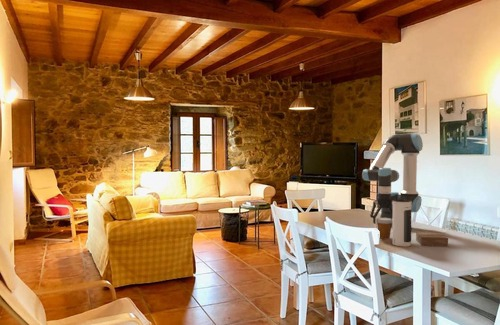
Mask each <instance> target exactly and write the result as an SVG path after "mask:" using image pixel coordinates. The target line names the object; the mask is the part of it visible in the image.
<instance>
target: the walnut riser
mask: <svg viewBox="0 0 500 325" xmlns="http://www.w3.org/2000/svg"><path fill="white" fill-rule="evenodd" d="M415 240H416V242H417V243H418V244H420V246H421V247H440V248H448V247H449V237H447V236H446V235H445V234H443V233H442V232H429V231H428V232H426V231H425V232H424V231H423V232H422V231H416V232H415Z"/></svg>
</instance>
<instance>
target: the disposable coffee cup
mask: <svg viewBox="0 0 500 325" xmlns="http://www.w3.org/2000/svg"><path fill="white" fill-rule="evenodd" d="M376 218H377V231H378V230H379V231H380V238H379V239H380V240H390V237H391V231H392V226H391V225H392V222H393V221H392V219H391V218H380V217H376Z"/></svg>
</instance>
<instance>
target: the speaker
mask: <svg viewBox="0 0 500 325" xmlns="http://www.w3.org/2000/svg"><path fill="white" fill-rule="evenodd" d="M411 202H412V201H410V200H402V199H397V200H393V229H392V245H393V246H396V247H407V248H408V247H411V246H412V212H411Z"/></svg>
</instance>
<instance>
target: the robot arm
mask: <svg viewBox="0 0 500 325" xmlns="http://www.w3.org/2000/svg"><path fill="white" fill-rule="evenodd" d="M423 146H424V145H423V140H422V137H421V135H420V134H418V133H395V134H393V135H390V136H389V137H388V138H386V139H385V140H384V141H383V142H382V144H381V146H380V148H381V149H380V150H379V152H378V153H377V155H376V157H375V159H373V161H372V163H371V164H370V166H369V168H365V169H363V170H362V173H361V178H362V180H363V181H367V182H377V183H378V189H377V190H378V191H377V194H378V195H377V199H378V200H377V201H372V208H371V211H370V214H369V216H370V218H371V219H372V223H373V224H374V229H375V228H377V229H378V225H377V218H378V215H379V213H380V215H379V218H391V219H392V221H393V200H397V199H402V200H410V201H412V202H411V213H418V212H419V210H420V209H421V205H422V202H423V201H422V196H421V195H419V192H418V191H417V172H418V171H417V166H418V165H417V163H418V160H417V159H418V155H419V154H420V151H422V150H423ZM396 151H400V152H401V154H402V155H403V166H402V167H403V171H402V179H403V180H402V190H401V191H400V194H399V192H398V191H393V192H392V183H394V182H397V181H398V180H399V178H400V173H399V172H398V171H397V170H395V169H392V168H391V167H385V166H386V164H387V162H388V160H389V159H390V157H391V155H392V154H394V153H395V152H396ZM377 205H378V207H377V209H376V206H377ZM375 209H376V211H375ZM391 230H393V222H392V225H391Z"/></svg>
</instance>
